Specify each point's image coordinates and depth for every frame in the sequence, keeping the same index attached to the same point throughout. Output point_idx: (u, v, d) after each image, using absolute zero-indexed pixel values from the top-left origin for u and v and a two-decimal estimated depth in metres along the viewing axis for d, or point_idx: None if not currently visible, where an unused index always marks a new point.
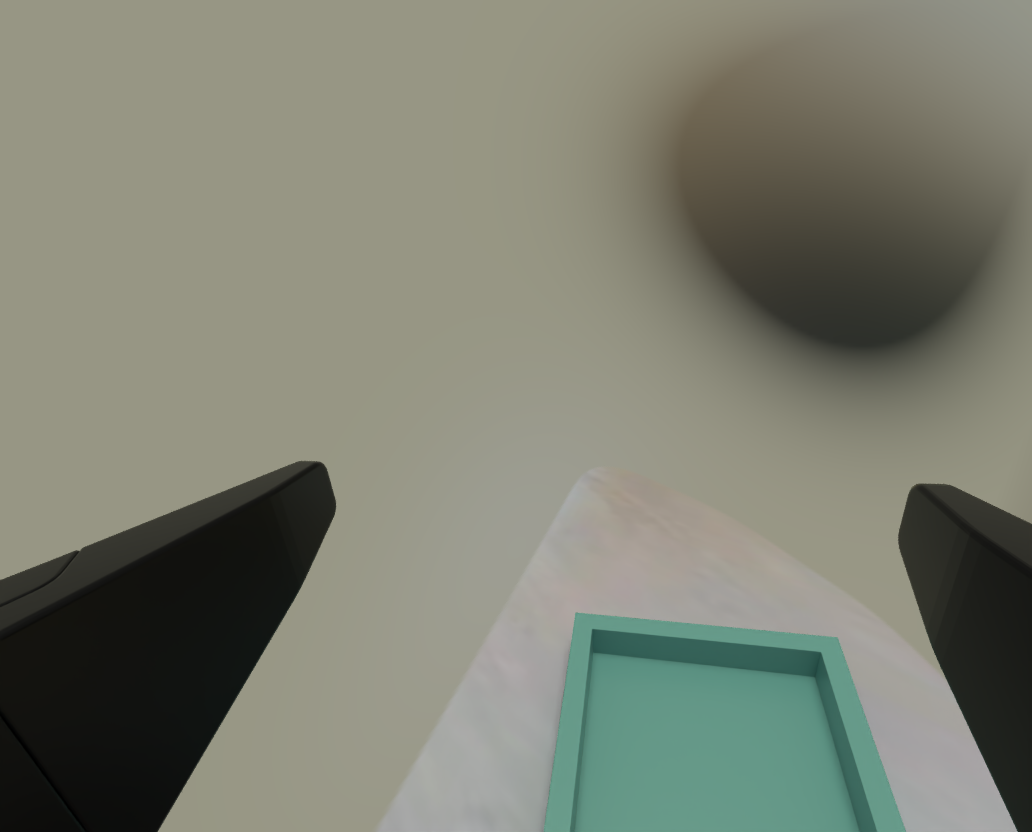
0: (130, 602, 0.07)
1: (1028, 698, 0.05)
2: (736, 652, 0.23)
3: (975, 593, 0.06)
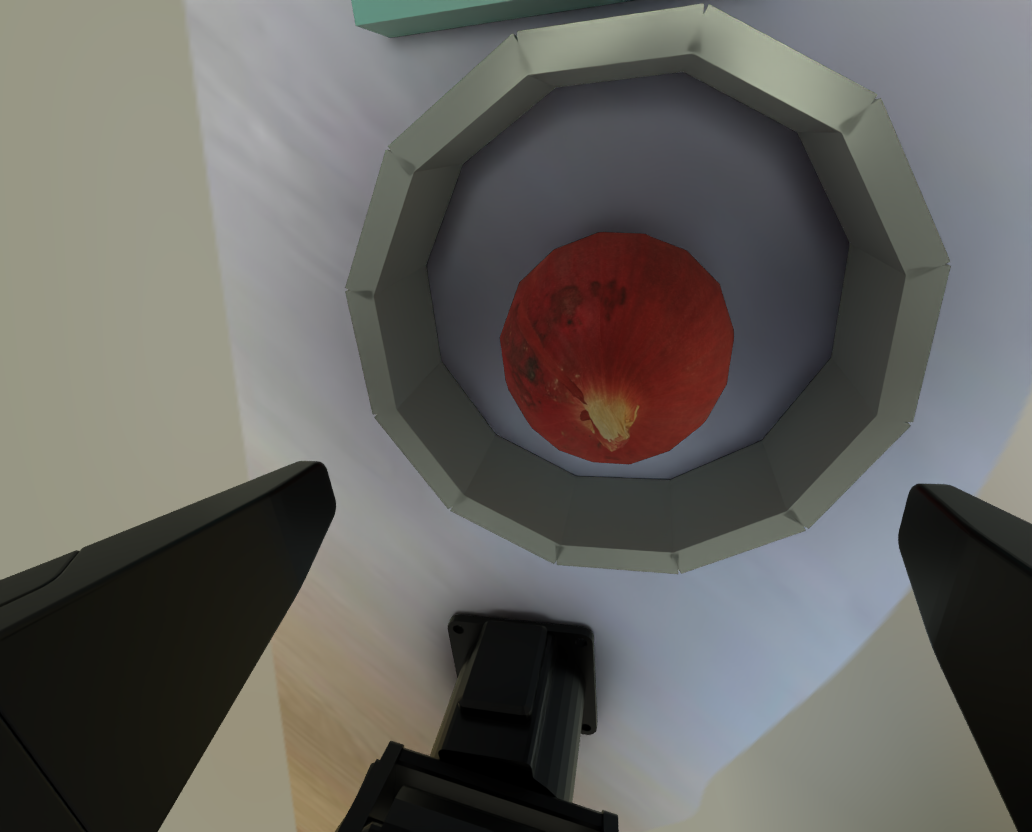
0: (130, 601, 0.07)
1: (1028, 698, 0.05)
2: None
3: (975, 593, 0.06)
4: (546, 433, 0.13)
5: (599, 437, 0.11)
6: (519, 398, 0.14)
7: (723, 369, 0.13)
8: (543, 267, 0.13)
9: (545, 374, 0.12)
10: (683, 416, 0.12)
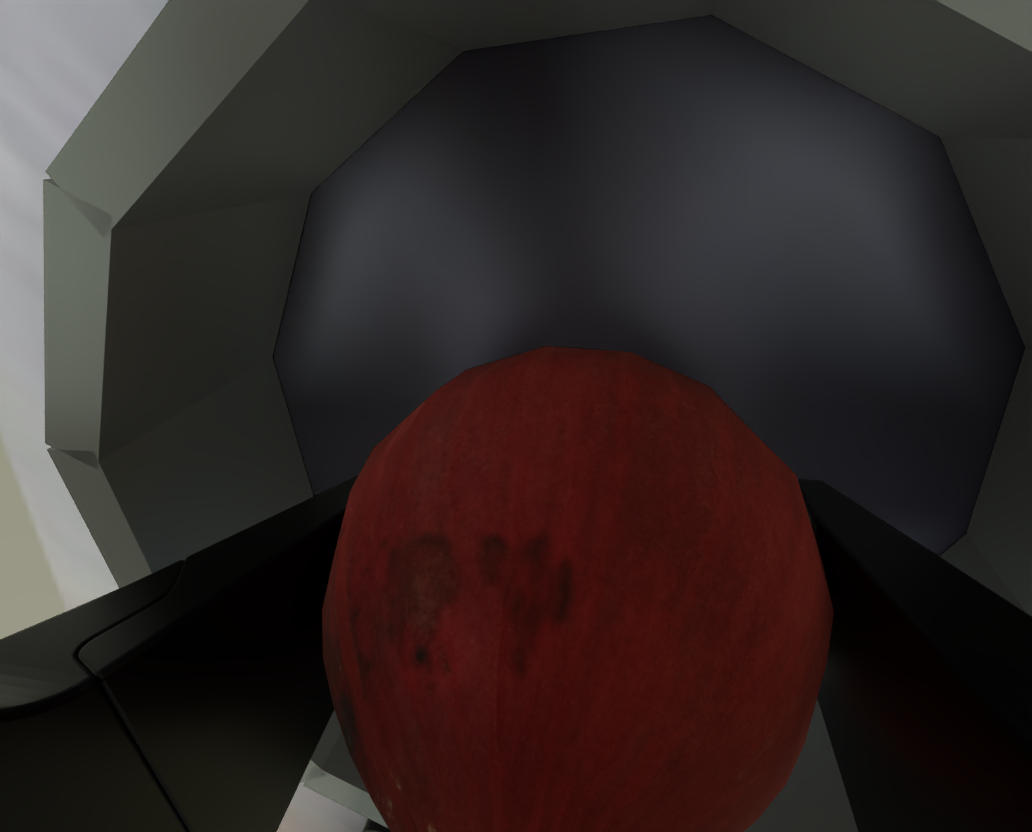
0: (244, 614, 0.06)
1: (852, 679, 0.06)
2: None
3: None
4: None
5: None
6: None
7: (815, 702, 0.05)
8: (399, 446, 0.06)
9: (369, 765, 0.05)
10: None
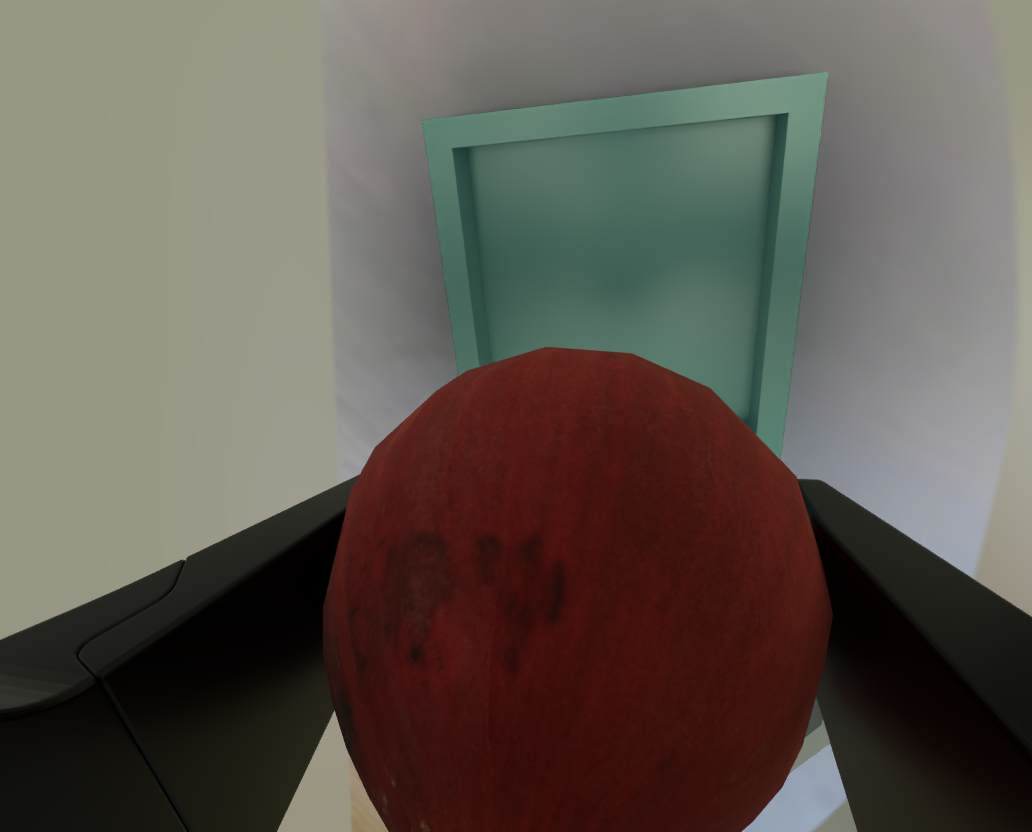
0: (244, 614, 0.06)
1: (852, 679, 0.06)
2: (661, 126, 0.15)
3: None
4: None
5: None
6: None
7: (813, 705, 0.05)
8: (399, 445, 0.06)
9: (366, 761, 0.05)
10: None
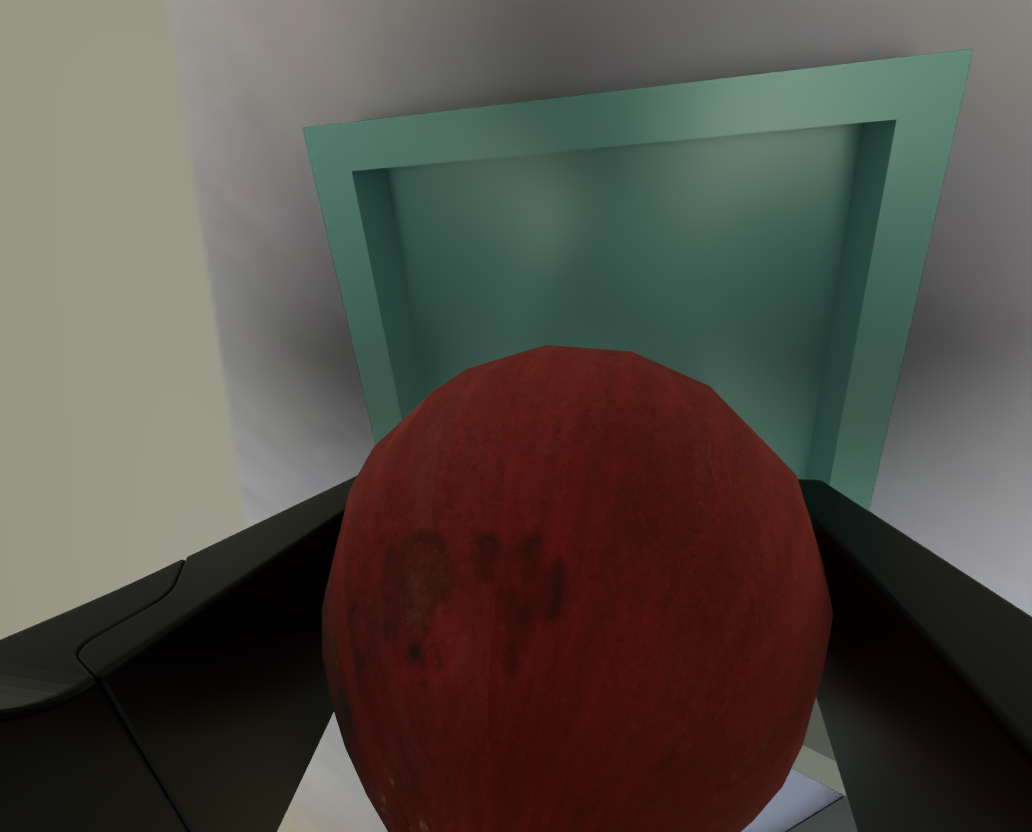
0: (244, 614, 0.06)
1: (852, 678, 0.06)
2: None
3: None
4: None
5: None
6: None
7: (813, 705, 0.05)
8: (398, 444, 0.06)
9: (363, 761, 0.05)
10: None
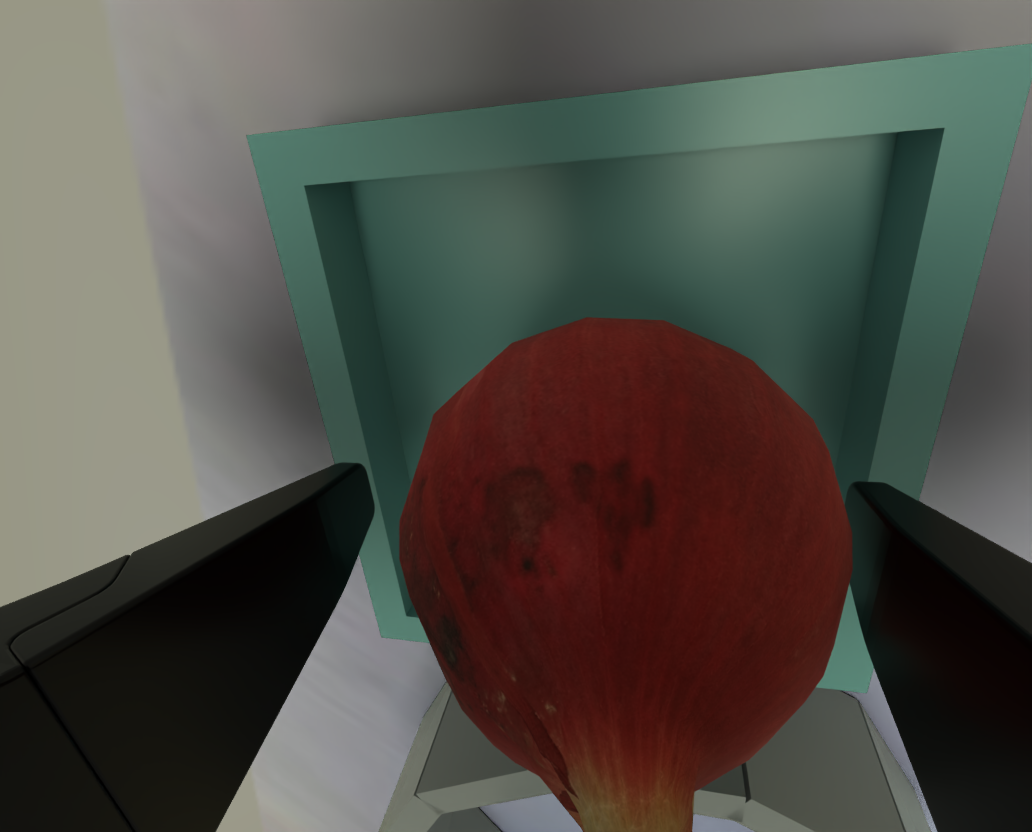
0: (186, 608, 0.06)
1: (939, 688, 0.06)
2: None
3: (897, 587, 0.06)
4: (490, 739, 0.07)
5: None
6: None
7: (843, 606, 0.06)
8: (472, 403, 0.07)
9: (477, 671, 0.05)
10: (776, 731, 0.06)
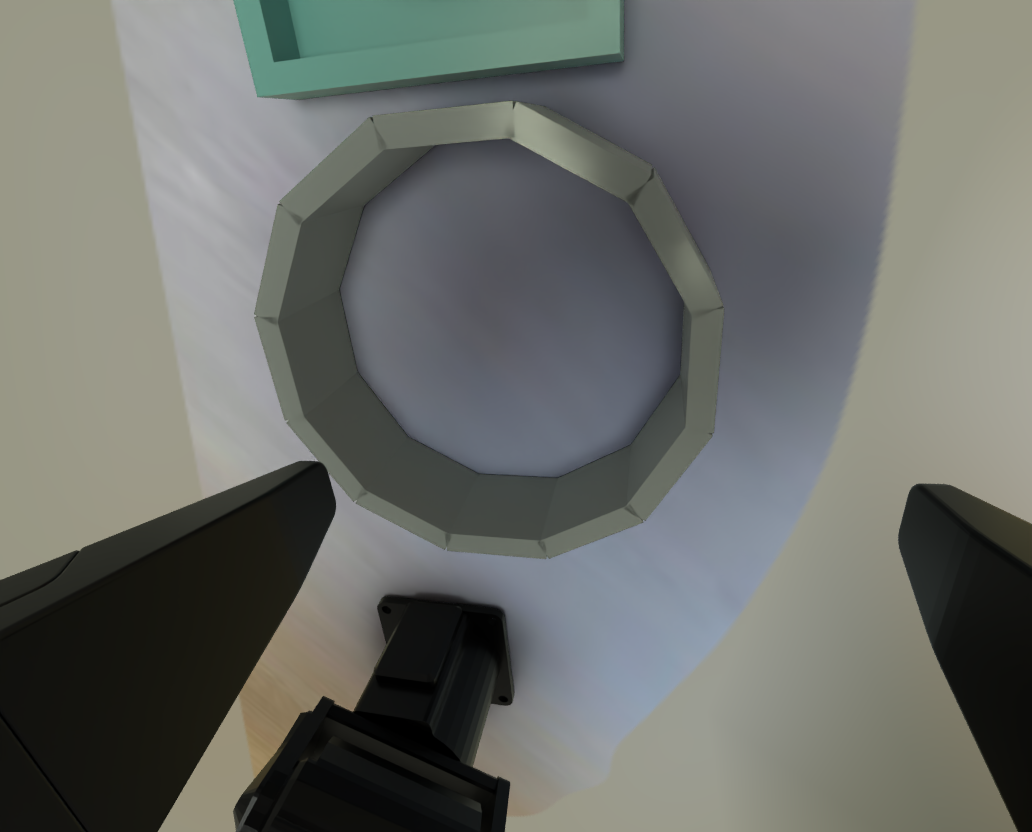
0: (130, 602, 0.07)
1: (1028, 698, 0.05)
2: None
3: (975, 593, 0.06)
4: None
5: None
6: None
7: None
8: None
9: None
10: None
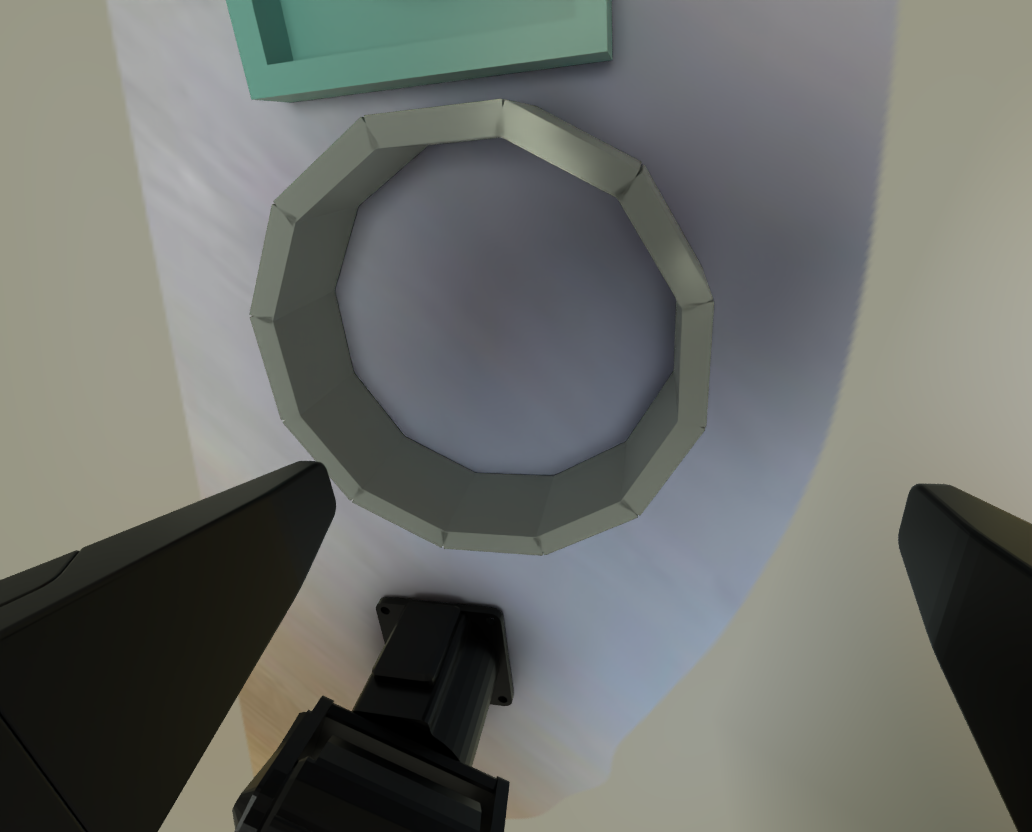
0: (130, 602, 0.07)
1: (1028, 698, 0.05)
2: None
3: (975, 593, 0.06)
4: None
5: None
6: None
7: None
8: None
9: None
10: None
